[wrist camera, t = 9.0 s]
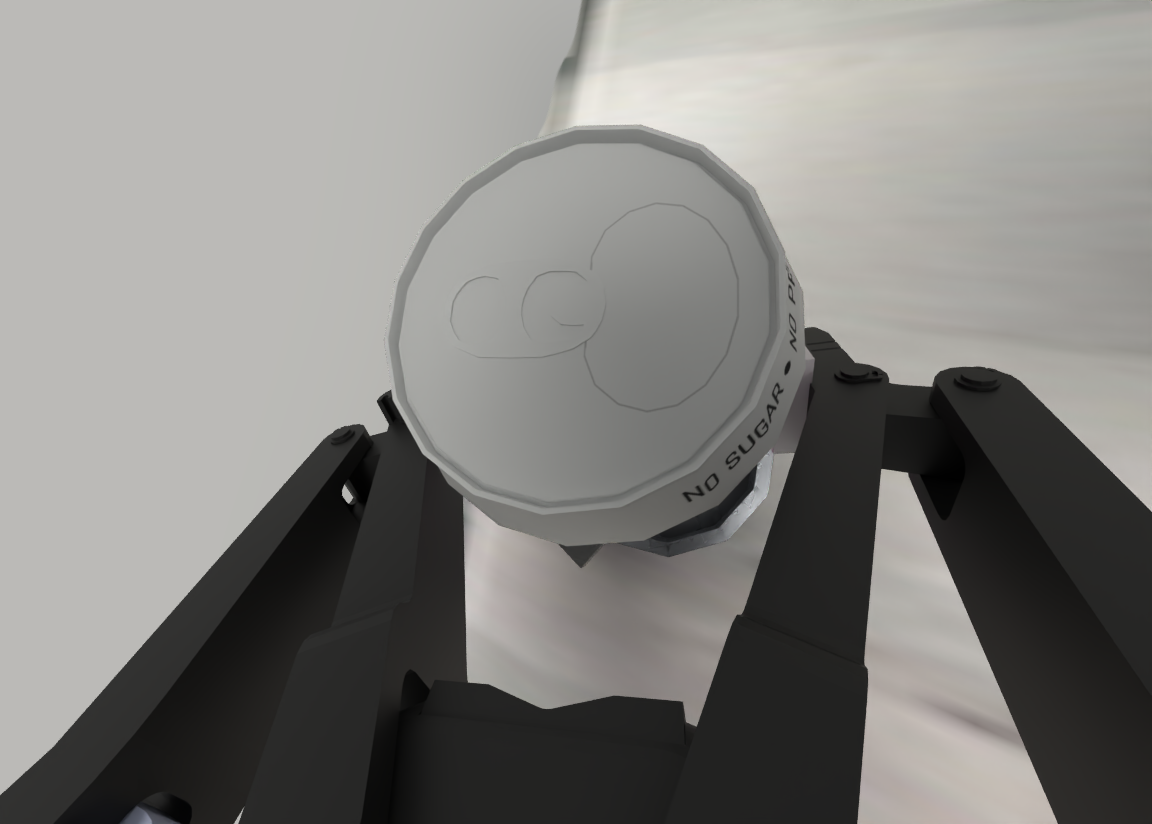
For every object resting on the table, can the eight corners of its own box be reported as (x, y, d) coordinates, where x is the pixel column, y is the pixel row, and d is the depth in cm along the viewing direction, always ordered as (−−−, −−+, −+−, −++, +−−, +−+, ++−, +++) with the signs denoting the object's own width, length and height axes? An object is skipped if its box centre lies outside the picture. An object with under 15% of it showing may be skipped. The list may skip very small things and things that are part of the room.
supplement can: (729, 357, 21) (822, 50, 7) (728, 523, 19) (849, 597, 5) (576, 359, 23) (396, 132, 9) (564, 508, 21) (322, 530, 7)
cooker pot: (676, 304, 32) (674, 279, 28) (832, 412, 28) (854, 399, 24) (520, 482, 33) (498, 481, 29) (648, 616, 28) (642, 634, 25)
